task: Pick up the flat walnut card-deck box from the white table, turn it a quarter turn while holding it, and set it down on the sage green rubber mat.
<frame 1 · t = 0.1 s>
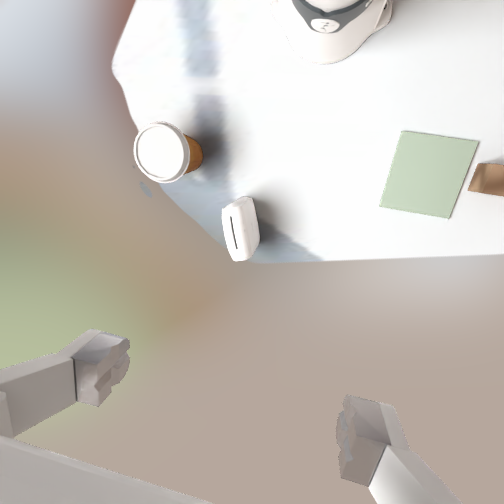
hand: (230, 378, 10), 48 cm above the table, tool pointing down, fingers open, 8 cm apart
rubber mat: (424, 175, 50), on the table
photo printer: (248, 221, 58), on the table
deck box: (500, 181, 48), on the table
disposable coffee cup: (188, 154, 56), on the table
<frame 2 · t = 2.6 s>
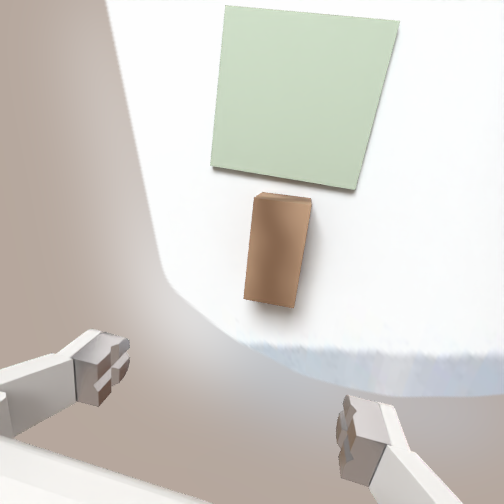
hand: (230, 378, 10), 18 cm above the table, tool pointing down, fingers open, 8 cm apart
rubber mat: (293, 103, 24), on the table
deck box: (280, 241, 28), on the table
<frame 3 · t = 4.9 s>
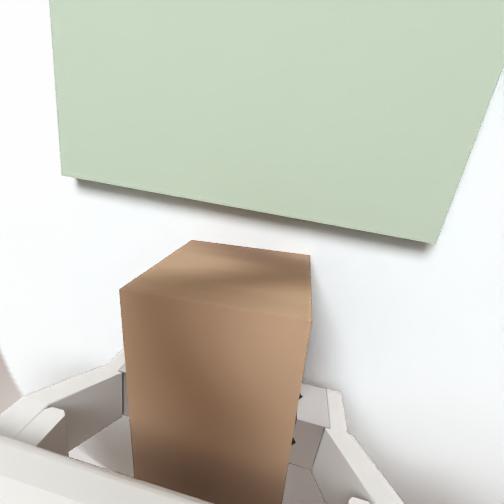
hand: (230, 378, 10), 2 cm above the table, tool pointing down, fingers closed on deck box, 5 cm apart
deck box: (241, 348, 12), on the table, touching gripper
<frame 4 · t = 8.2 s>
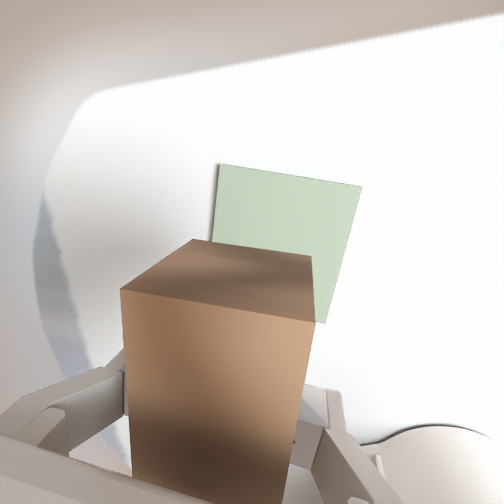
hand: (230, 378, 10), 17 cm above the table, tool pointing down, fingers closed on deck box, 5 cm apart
rubber mat: (276, 246, 26), on the table
deck box: (240, 348, 12), point 15 cm above the table, touching gripper
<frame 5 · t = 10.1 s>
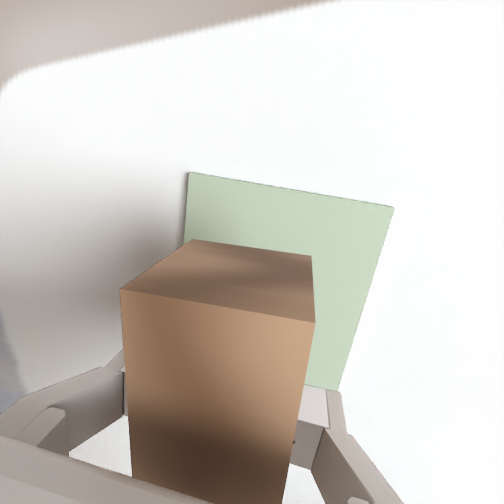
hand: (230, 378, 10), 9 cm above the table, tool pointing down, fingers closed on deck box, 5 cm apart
rubber mat: (269, 286, 19), on the table
deck box: (240, 348, 12), point 7 cm above the table, touching gripper
when the fingers open (4 cm above the table, at t = 11.5 s): deck box drops 1 cm, resting on rubber mat.
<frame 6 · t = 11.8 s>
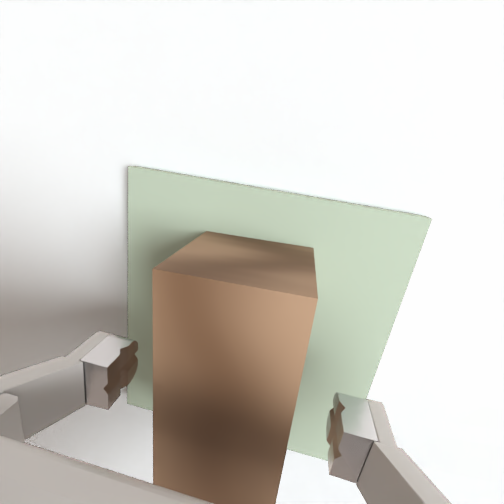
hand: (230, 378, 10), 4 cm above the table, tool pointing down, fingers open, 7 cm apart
rubber mat: (248, 324, 14), on the table
deck box: (247, 331, 13), point 1 cm above the table, touching rubber mat
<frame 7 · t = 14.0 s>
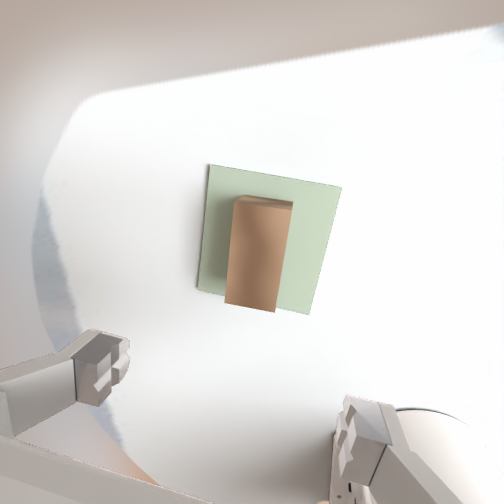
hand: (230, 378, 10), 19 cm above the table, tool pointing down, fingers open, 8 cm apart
rubber mat: (263, 242, 28), on the table
deck box: (262, 244, 27), point 1 cm above the table, touching rubber mat
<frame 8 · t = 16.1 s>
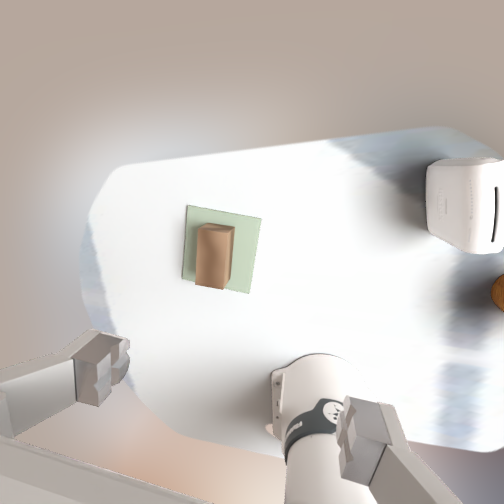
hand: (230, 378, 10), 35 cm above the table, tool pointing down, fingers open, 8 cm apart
rubber mat: (220, 250, 47), on the table
photo printer: (439, 197, 39), on the table
deck box: (219, 251, 46), point 1 cm above the table, touching rubber mat
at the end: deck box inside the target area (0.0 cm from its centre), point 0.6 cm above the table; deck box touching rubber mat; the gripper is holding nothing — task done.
